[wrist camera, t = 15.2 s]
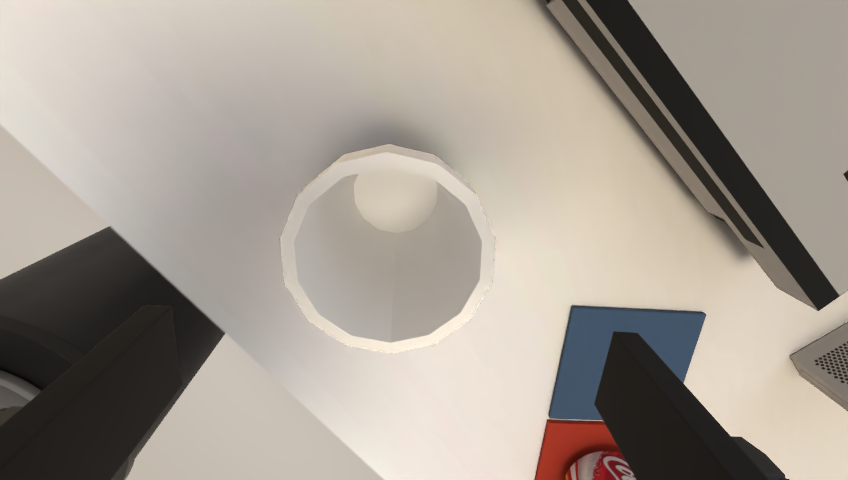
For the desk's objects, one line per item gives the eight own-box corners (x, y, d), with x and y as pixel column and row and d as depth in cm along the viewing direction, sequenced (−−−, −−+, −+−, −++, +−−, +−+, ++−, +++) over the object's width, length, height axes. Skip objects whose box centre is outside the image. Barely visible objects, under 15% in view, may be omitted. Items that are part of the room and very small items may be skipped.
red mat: (528, 509, 43) (529, 513, 42) (547, 419, 39) (548, 423, 39) (637, 511, 43) (639, 515, 43) (666, 423, 40) (668, 427, 39)
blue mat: (548, 415, 39) (549, 418, 38) (571, 305, 35) (573, 308, 35) (667, 419, 39) (670, 422, 39) (703, 312, 36) (706, 314, 35)
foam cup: (448, 110, 29) (477, 131, 17) (472, 236, 33) (511, 328, 20) (312, 141, 30) (247, 183, 18) (349, 262, 33) (315, 369, 21)
